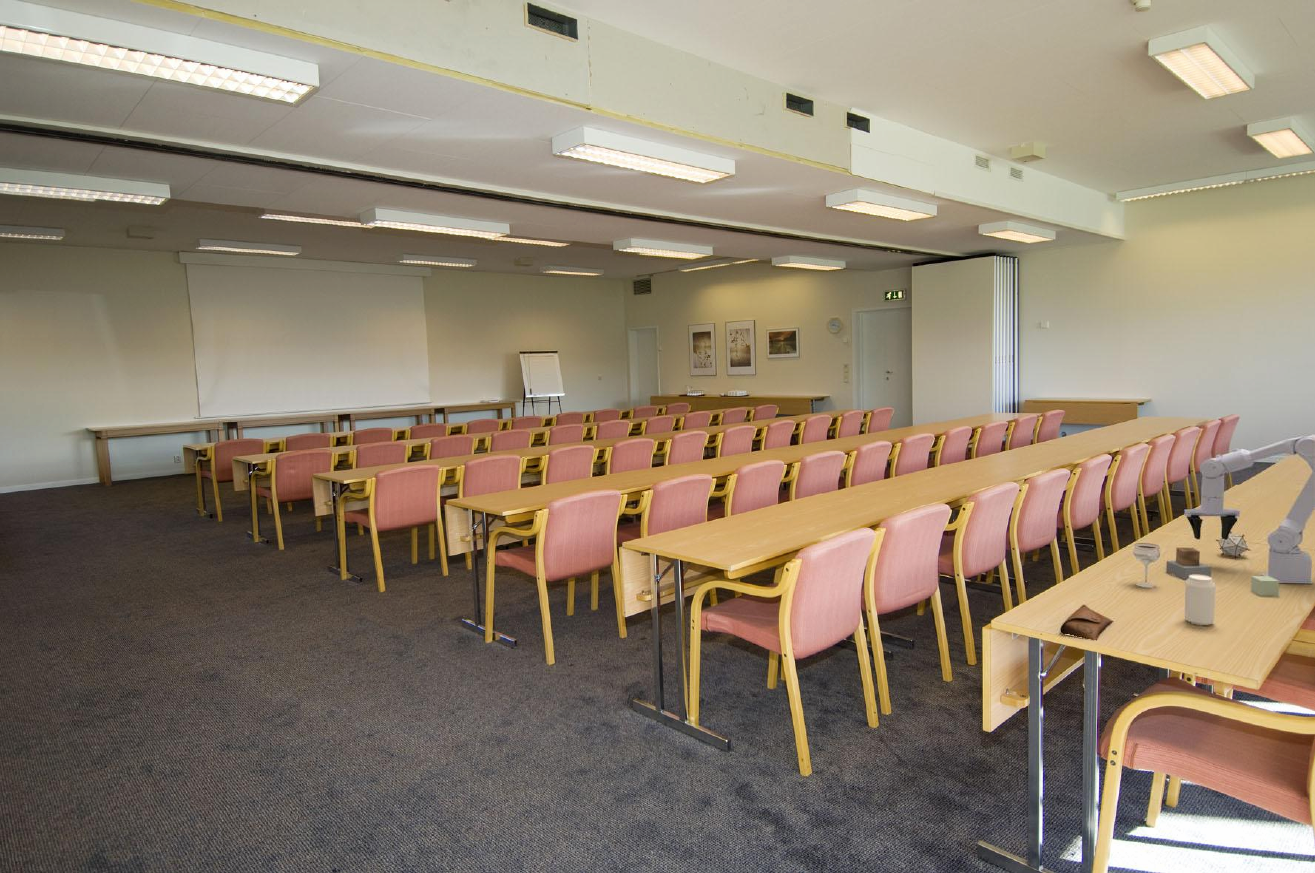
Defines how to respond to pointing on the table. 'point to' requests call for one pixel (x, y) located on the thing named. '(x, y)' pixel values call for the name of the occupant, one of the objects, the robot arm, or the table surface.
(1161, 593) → the table surface
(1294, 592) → the table surface
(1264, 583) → the sage-green block
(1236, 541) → the game die
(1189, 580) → the beverage can
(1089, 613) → the sunglasses case
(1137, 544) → the wineglass
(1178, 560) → the walnut block
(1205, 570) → the grey square block
